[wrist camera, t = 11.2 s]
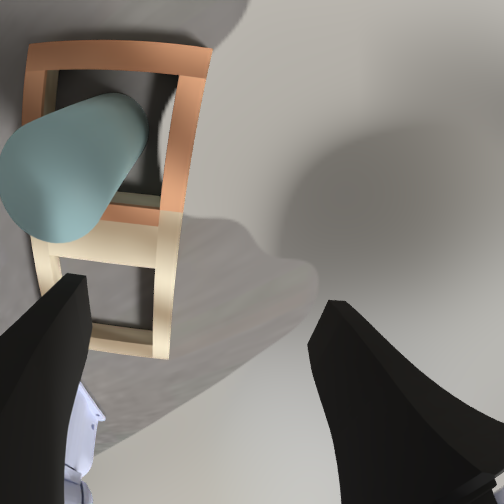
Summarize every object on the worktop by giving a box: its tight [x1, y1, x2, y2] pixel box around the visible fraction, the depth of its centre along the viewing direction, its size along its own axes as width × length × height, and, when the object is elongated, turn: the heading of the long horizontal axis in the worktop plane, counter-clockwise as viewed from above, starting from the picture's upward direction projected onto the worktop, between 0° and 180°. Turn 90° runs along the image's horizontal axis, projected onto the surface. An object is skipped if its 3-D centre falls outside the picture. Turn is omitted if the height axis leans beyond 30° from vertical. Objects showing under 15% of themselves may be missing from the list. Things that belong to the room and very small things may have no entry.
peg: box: [0, 93, 149, 243], centre depth 12 cm, size 4×4×8 cm
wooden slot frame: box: [22, 40, 213, 360], centre depth 17 cm, size 21×10×2 cm, turn 167°
